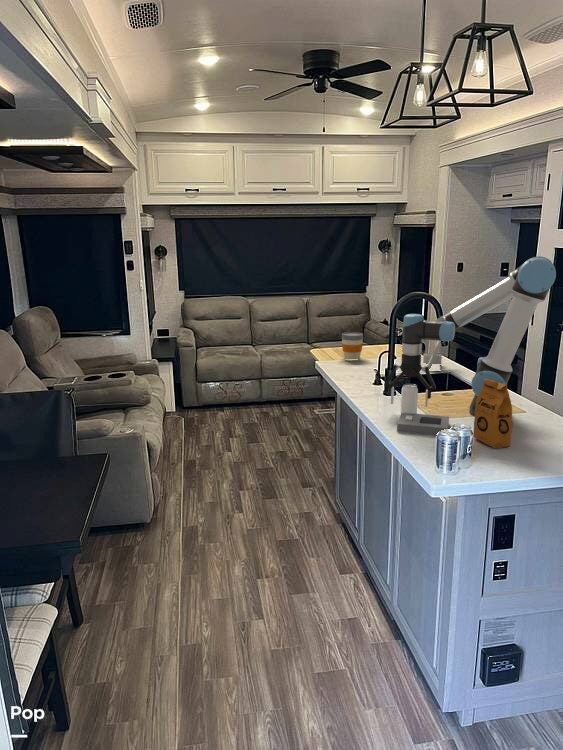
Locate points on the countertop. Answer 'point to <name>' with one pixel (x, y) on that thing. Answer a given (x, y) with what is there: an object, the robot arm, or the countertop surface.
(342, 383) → the countertop surface
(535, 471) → the countertop surface
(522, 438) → the countertop surface
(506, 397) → the coffee package
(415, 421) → the socket plate
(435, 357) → the phone holder
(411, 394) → the can
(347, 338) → the reusable coffee cup
